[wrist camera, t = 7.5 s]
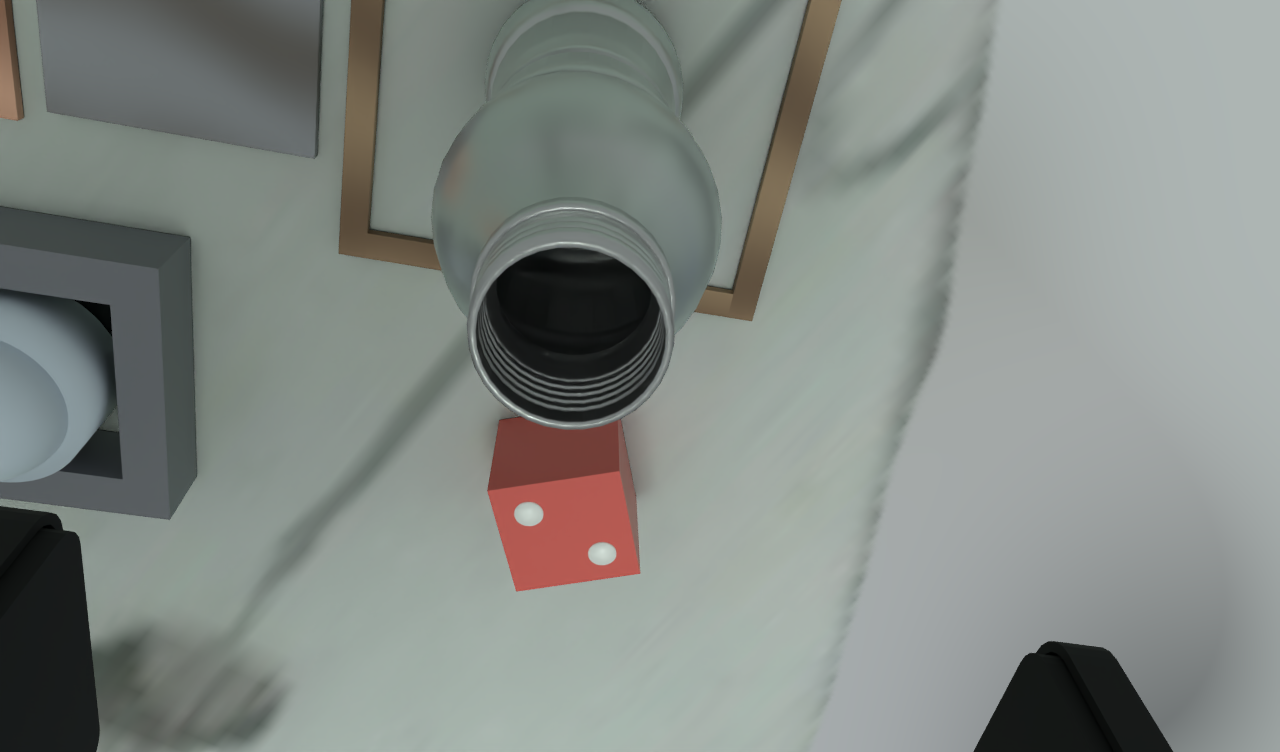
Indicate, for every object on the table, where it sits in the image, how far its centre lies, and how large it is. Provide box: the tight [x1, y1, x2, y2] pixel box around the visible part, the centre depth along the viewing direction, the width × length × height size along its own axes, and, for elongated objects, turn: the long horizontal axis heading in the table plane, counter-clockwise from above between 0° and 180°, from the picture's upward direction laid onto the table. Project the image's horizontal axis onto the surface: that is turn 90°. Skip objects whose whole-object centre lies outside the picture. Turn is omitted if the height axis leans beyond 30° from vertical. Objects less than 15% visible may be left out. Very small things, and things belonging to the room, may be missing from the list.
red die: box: [487, 417, 640, 591], centre depth 40 cm, size 5×5×5 cm
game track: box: [0, 0, 842, 321], centre depth 33 cm, size 16×37×1 cm, turn 79°
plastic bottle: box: [431, 0, 722, 430], centre depth 25 cm, size 6×7×20 cm
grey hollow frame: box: [0, 206, 197, 520], centre depth 37 cm, size 11×11×3 cm
